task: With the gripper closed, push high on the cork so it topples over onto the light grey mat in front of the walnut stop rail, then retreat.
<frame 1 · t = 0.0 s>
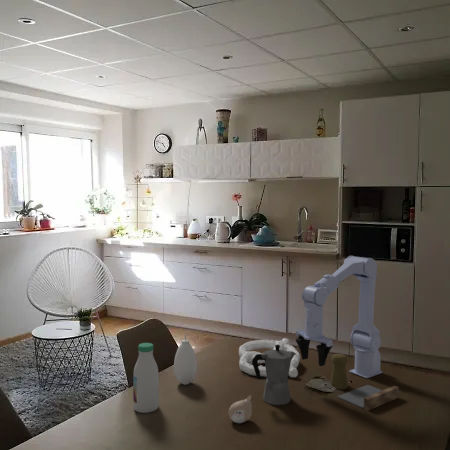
hand: (313, 362, 160), 10 cm above the table, fingers open, 7 cm apart
stop rail: (381, 403, 152), on the table
cork: (338, 386, 166), on the table
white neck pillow: (269, 365, 186), on the table
milk bottle: (146, 408, 148), on the table
garlic bulb: (240, 422, 140), on the table
sauce bottle: (185, 384, 167), on the table
coffeepot: (273, 400, 155), on the table
mat: (365, 396, 157), on the table
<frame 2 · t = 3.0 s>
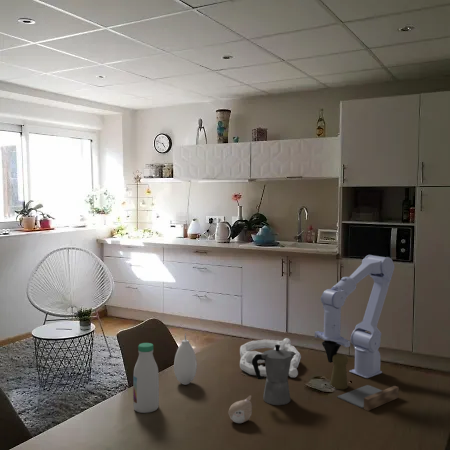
hand: (331, 361, 168), 7 cm above the table, fingers closed
cork: (338, 386, 166), on the table, touching gripper
everything else where it was.
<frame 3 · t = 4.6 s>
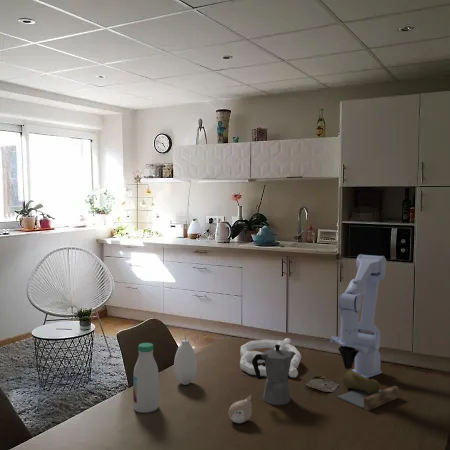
hand: (348, 368, 163), 7 cm above the table, fingers closed
cork: (348, 378, 165), point 3 cm above the table, touching mat
everything else where it was.
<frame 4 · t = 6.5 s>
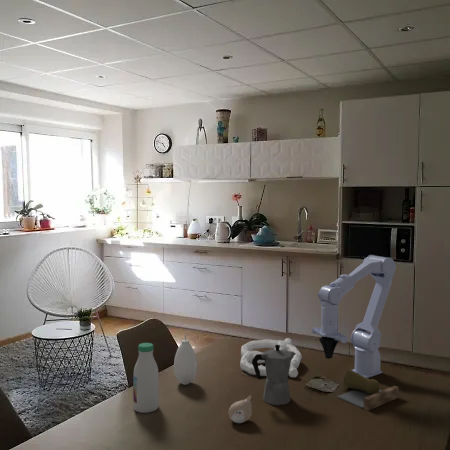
hand: (328, 357, 169), 9 cm above the table, fingers closed
nothing on the table moved.
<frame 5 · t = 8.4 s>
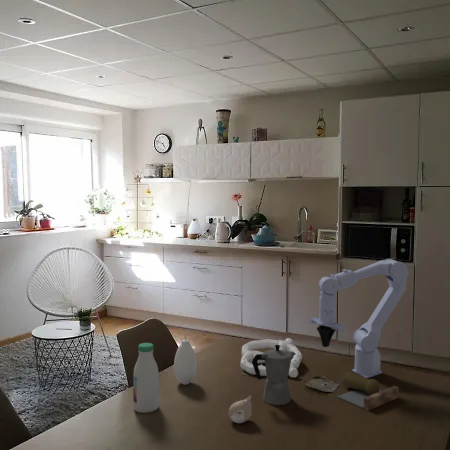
hand: (325, 346, 176), 10 cm above the table, fingers closed
nothing on the table moved.
at the end: cork tilted 90°; cork inside the target area (7.6 cm from its centre), point 3.0 cm above the table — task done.
